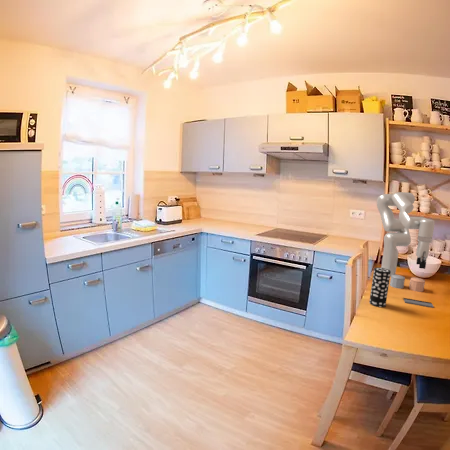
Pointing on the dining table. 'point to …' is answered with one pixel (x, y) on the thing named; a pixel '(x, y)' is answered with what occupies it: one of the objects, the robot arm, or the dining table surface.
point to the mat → (418, 302)
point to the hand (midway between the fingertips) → (420, 266)
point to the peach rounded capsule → (417, 284)
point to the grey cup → (397, 281)
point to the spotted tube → (379, 287)
